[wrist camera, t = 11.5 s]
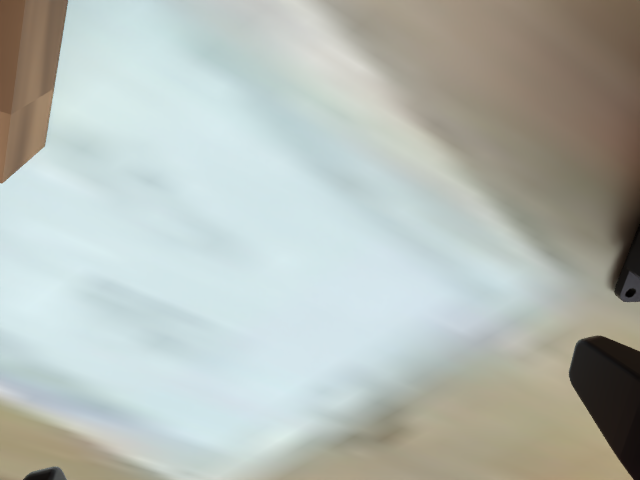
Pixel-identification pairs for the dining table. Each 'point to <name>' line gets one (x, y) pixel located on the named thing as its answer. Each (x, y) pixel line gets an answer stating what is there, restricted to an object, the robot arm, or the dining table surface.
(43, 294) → the dining table surface
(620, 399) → the robot arm
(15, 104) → the socket block
